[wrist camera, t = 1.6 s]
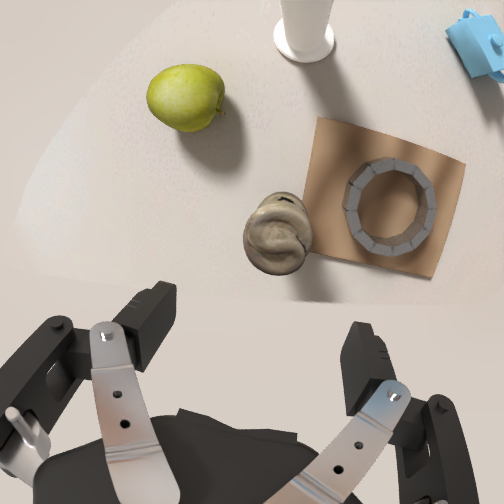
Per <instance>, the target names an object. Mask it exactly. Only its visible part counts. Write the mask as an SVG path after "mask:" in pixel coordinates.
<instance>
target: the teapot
mask: <svg viewBox="0 0 504 504" xmlns="http://www.w3.org/2000/svg"><path fill="white" fill-rule="evenodd" d="M469 13H471V14H472V15H473V16H474V17H471V18H469ZM445 31H446V33H447V35H448V36H449V38H450V41H451V43H452V44H453V45H454V46H455V48H456V50H457V52H458V54H459V55H460V57H461V59H462V61H463V64H464V67H465V68H466V69H467V71H468V73H469V75H470V77H471V78H474V77H478V76H482V75H486V74H488V75H489V76H490V77H491V78H492V79H493V80H495V81H497V82H500V83H504V75H503V74H502V73H501V71H500V70H504V35H503V33H502V31H501V29H500V28H499V26H498V24H497V23H496V21H495V19H494V18H493V16H492V15H485V16H479V15H478V14H477V13H476V12H475V11H474V10H472V9H466V10H465V11H464V13H463V18H459V19H458V22H457V23H456V24H454V25H453V26H451V27H450V28H448V29H447V30H445Z"/></svg>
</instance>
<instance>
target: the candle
mask: <svg viewBox="0 0 504 504" xmlns="http://www.w3.org/2000/svg"><path fill="white" fill-rule="evenodd" d="M279 1H280V7H281V14H282V19H281V20H280V21H279V22H278V24H277V25H276V27H275V30H274V41H275V44H276V46H277V48H278V50H279V51H280V52H281V53H282V54H283V55H284V56H286V57H287V58H289V59H291V60H294V61H297V62H302V63H311V62H316V61H319V60H321V59H323V58H325V57H326V56H327V55H328V54H329V53H330V52H331V50H332V48H333V46H334V40H335V39H334V33H333V30H332V29H331V27H330V25H329V24H328V20H329V16H330V12H331V8H332V4H333V0H279Z"/></svg>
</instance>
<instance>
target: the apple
mask: <svg viewBox="0 0 504 504" xmlns="http://www.w3.org/2000/svg"><path fill="white" fill-rule="evenodd" d="M224 93H225V87H224V83H223V80H222V79H221V77H220V76H219V75H218V74H217V73H216V72H215V71H213V70H212V69H210V68H208V67H205V66H201V65H195V64H182V65H176V66H173V67H170V68H168V69H165V70H163V71H162V72H160V73H159V74H158V75H157V76H155V77H154V78H153V79H152V81H151V82H150V85H149V88H148V91H147V96H146V97H147V104H148V107H149V109H150V111H151V112H152V114H153V115H154V116H155V117H156V118H158V119H159V120H160V121H162V122H163V123H164V124H166V125H168V126H169V127H171V128H174V129H176V130H179V131H183V132H195V131H199V130H202V129H204V128H206V127H207V126H208V125H209V124H210V123H211V121H212V119H213V117H214V116H215V115H216V113H217V112H218V113H219V114H220V116H224V115H225V114H226V113H225V112H224V111H222V110H220V109H219V108H220V105H221V102H222V99H223V96H224Z"/></svg>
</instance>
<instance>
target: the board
mask: <svg viewBox="0 0 504 504" xmlns="http://www.w3.org/2000/svg"><path fill="white" fill-rule="evenodd" d="M381 157H392V158H396V159H399V160H402V161H405V162H409V163H412V164H415V165H416V166H418V167H419V168H420V169H421V171H422V172H423V173H424V174H425V175H426V176H427V178H428V179H429V180H430V181H431V183H432V185H433V187H434V193H435V198H436V203H437V208H435V209H437V212H436V216H435V219H434V223H433V226H432V229H431V232H430V231H428V232H429V233H430V234H429V235H428V236H427V237H426V238H425V239H424V240H423V241H422V242H421V243H420V244H419V245H418V246H417V247H416V248H415V249H414V248H413V251H410V252H407V253H404V254H401V255H397V256H394V257H393V256H391V257H389V256H384V255H380V254H375V253H371V252H370V251H368V250H367V249H366V248H365V247H364V246H363V245H362V244H361V243H360V242H359V241H358V240H357V239H356V238H355V237H353V235H352V233H351V231H350V230H349V228H348V225H347V222H346V218H345V215H344V211H343V208H342V201H343V196H344V192H345V187H346V183H347V182H349V181H348V179H349V178H350V177H351V176H352V175H353V173H354V172H355V171H356V170H357V169H358V168H359V167H360V166H361V165H362V164H365V163H364V162H367V161H371V160H374V159H378V158H381ZM465 166H466V164H464V163H462V162H460V161H458V160H455V159H453V158H450V157H448V156H446V155H443V154H441V153H438V152H436V151H433V150H430V149H428V148H425V147H422V146H419V145H417V144H414V143H411V142H408V141H405V140H402V139H399V138H396V137H393V136H390V135H387V134H383V133H380V132H377V131H373V130H370V129H366V128H362V127H359V126H355V125H351V124H347V123H343V122H339V121H335V120H330V119H326V118H321V117H318V120H317V126H316V131H315V137H314V143H313V148H312V154H311V159H310V164H309V170H308V175H307V180H306V185H305V190H304V195H303V200H302V203H303V204H304V206H305V208H306V211H307V215H308V219H309V221H310V224H311V228H312V233H313V240H312V246H311V249H310V252H313V253H317V254H322V255H327V256H332V257H337V258H342V259H347V260H352V261H356V262H361V263H366V264H371V265H375V266H380V267H385V268H390V269H394V270H399V271H404V272H408V273H413V274H418V275H422V276H427V277H433V274H434V272H435V269H436V267H437V264H438V261H439V259H440V256H441V253H442V250H443V247H444V244H445V241H446V238H447V235H448V232H449V229H450V226H451V222H452V219H453V215H454V212H455V208H456V205H457V201H458V197H459V193H460V189H461V185H462V180H463V176H464V171H465ZM418 204H419V202H418V197H417V192H416V188H415V185H414V184H413V182H412V181H411V180H410V179H409V178H408V177H407V176H406V174H405V173H404V172H401V171H398V170H395V169H394V170H390V171H387V172H383V173H380V174H377V175H375V176H374V177H373V178H372V179H371V180H370V181H369V183H368V184H367V185H366V186H365V187H364V188H363V189H362V191H361V195H360V199H359V203H358V207H357V213H358V217H359V220H360V224H361V227H362V228H363V229H364V230H365V231H366V232H367V233H368V234H369V235H373V236H377V237H382V238H389V237H392V236H395V235H398V234H401V233H403V232H404V231H405V230H406V229H407V227H408V226H409V225H410V224H411V223H412V222H413V221H414V219H415V215H416V212H417V208H418Z"/></svg>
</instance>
